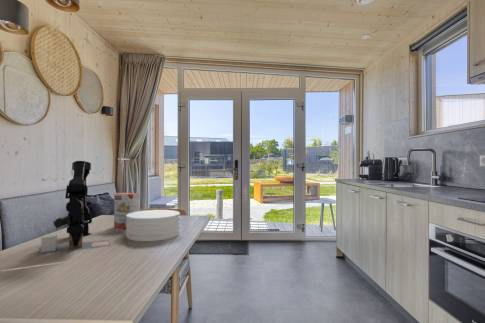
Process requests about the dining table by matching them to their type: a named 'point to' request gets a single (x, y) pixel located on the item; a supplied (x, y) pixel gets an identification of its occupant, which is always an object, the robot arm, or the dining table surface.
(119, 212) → the cracker box
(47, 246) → the grey block
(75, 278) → the dining table surface
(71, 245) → the walnut block
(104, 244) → the board
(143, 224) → the plate stack
